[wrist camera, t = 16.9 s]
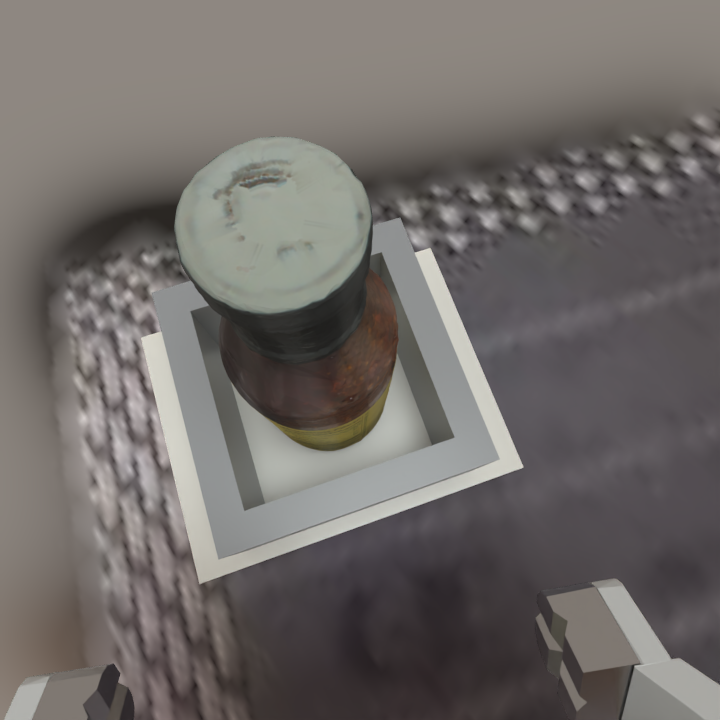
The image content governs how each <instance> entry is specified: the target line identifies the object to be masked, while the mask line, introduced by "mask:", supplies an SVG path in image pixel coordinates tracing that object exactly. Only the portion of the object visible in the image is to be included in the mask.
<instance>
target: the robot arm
mask: <svg viewBox="0 0 720 720" xmlns="http://www.w3.org/2000/svg"><path fill="white" fill-rule="evenodd" d="M537 605H538V607H539V609H540V612H541V613H540V614H539V615H538V616H537V617H536V618H535V632H536V638H537V644H538V647H539V650H540V653H541V656H542V659H543V661H544V664H545V666H546V668H547V670H548V671H549V672H551V673H552V674H553V675H554V676H556V677H557V678H558V679H559V683H558V692H557V694H558V697H559V699H560V701H561V703H562V706H563V708H564V710H565V713H566V715H567V717H568V720H720V685H719V684H717V683H716V682H715V681H713V680H712V679H710V678H709V677H707V676H706V675H704V674H703V673H701V672H700V671H698V670H697V669H695V668H694V667H692V666H691V665H689V664H688V663H686V662H685V661H683V660H682V659H680V658H675V659H671V657H670V656H669V654H668V653H667V651H666V650H665V648H664V647H663V645H662V643H661V642H660V640H659V639H658V637H657V636H656V634H655V633H654V631H653V630H652V628H651V627H650V625H649V624H648V622H647V621H646V619H645V618H644V616H643V614H642V613H641V611H640V610H639V608H638V607H637V605H636V604H635V602H634V601H633V599H632V598H631V596H630V595H629V593H628V592H627V590H626V589H625V587H624V585H623V584H622V583H621V582H620V581H619V580H617V579H613V578H612V579H606V580H601V581H596V582H591V583H588V582H586V583H580V584H575V585H570V586H564V587H559V588H554V589H548V590H543V591H540V592H539V593H538V595H537ZM119 677H120V672H119V671H118V669H117V668H116V666H115V665H114V664H108V665H102V666H96V667H89V668H83V669H77V670H70V671H64V672H55V673H49V674H44V675H38V676H32V677H27V678H26V679H25V681H24V682H23V683H22V684H21V686H19V688H18V690H17V692H16V694H15V696H14V698H13V701H12V703H11V705H10V707H9V709H8V711H7V714H6V716H5V718H4V720H134V702H133V697H132V694H131V692H130V690H129V689H128V687H126V686H124V685H121V684H119V683H118V680H119Z"/></svg>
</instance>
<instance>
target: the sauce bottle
mask: <svg viewBox="0 0 720 720" xmlns="http://www.w3.org/2000/svg"><path fill="white" fill-rule="evenodd" d="M174 230H175V237H176V246H177V250H178V253H179V258H180V262H181V265H182V267H183V269H184V271H185V272H186V274H187V275H188V277H189V278H190V280H191V281H192V283H193V284H194V286H195V288H196V289H197V291H198V292H199V293H200V294H201V295H202V297H203V298H204V300H205V301H206V302H207V303H208V305H209V306H210V307H211V308H212V309H213V310H214V311H215V312H217V313H218V314H220V315H221V316H222V317H221V321H220V326H219V349H220V355H221V359H222V363H223V366H224V368H225V371H226V373H227V375H228V377H229V379H230V381H231V382H232V384H233V386H234V387H235V388H236V390H237V391H238V393H239V394H240V395H241V397H242V398H243V399H244V400H245V401H246V402H247V403H248V404H249V405H250V406H251V407H253V408H254V409H255V410H256V411H258V412H259V413H260V414H261V415H263V416H264V417H265V418H267V419H268V420H269V421H270V422H271V423H273V424H274V425H275V426H276V427H277V428H279V429H280V430H281V431H282V432H283V433H284V434H285V435H287V436H288V437H289V438H290V439H292V440H293V441H295V442H296V443H298V444H300V445H302V446H305V447H307V448H310V449H314V450H319V451H336V450H340V449H343V448H346V447H349V446H351V445H353V444H355V443H357V442H359V441H361V440H362V439H363V438H364V437H365V436H366V435H368V434H369V433H370V431H371V430H372V429H373V428H374V427H375V425H376V424H377V422H378V421H379V419H380V417H381V415H382V413H383V410H384V406H385V402H386V399H387V395H388V392H389V387H390V384H391V380H392V376H393V371H394V367H395V363H396V358H397V345H398V341H399V338H398V323H397V314H396V309H395V305H394V302H393V300H392V298H391V295H390V293H389V291H388V289H387V287H386V285H385V284H384V282H383V281H382V279H381V278H380V277H379V275H378V274H377V273H375V272H373V270H371V269H370V268H369V267H370V256H371V252H372V238H373V220H372V209H371V205H370V202H369V199H368V196H367V192H366V190H365V189H364V187H363V185H362V183H361V182H360V180H359V179H358V178H357V177H356V175H355V174H354V172H353V171H352V169H350V168H349V167H348V166H347V165H346V164H345V163H344V162H343V161H342V160H341V159H340V158H339V157H338V156H337V155H336V154H335V153H333V152H331V151H329V150H327V149H325V148H324V147H322V146H319V145H317V144H313V143H310V142H307V141H304V140H301V139H298V138H292V137H291V138H290V137H268V138H257V139H254V140H251V141H248V142H245V143H243V144H240V145H238V146H235V147H232V148H231V149H229V150H227V151H226V152H224V153H222V154H220V155H219V156H217V157H216V158H214V159H213V160H212V161H211V162H209V163H208V164H207V165H206V166H205V167H203V168H202V169H201V170H200V171H198V172H197V173H196V174H195V176H194V177H193V179H192V181H191V182H190V184H189V185H188V186H187V187H186V188H185V189H184V191H183V193H182V196H181V199H180V201H179V204H178V206H177V210H176V218H175V227H174Z"/></svg>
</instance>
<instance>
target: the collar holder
mask: <svg viewBox="0 0 720 720" xmlns="http://www.w3.org/2000/svg"><path fill="white" fill-rule="evenodd" d="M369 268H370V269H371V270H373V272H375V273H377V274H378V275H379V277H380V278H381V279H382V281H383V282H384V284H385V285H386V287H387V289H388V291H389V293H390V295H391V298H392V300H393V302H394V305H395V309H396V314H397V323H398V338H399V341H398V345H397V358H396V363H395V367H394V371H393V376H392V380H391V384H390V387H389V392H388V395H387V399H386V402H385V406H384V410H383V413H382V415H381V417H380V419H379V421H378V422H377V424H376V425H375V427H374V428H373V429H372V430H371V431H370V433H369V434H368V435H366V436H365V437H364V438H363V439H362V440H361V441H359V442H357V443H355V444H353V445H351V446H349V447H346V448H343V449H340V450H336V451H319V450H314V449H310V448H307V447H305V446H302V445H300V444H298V443H296V442H295V441H293V440H292V439H290V438H289V437H288V436H287V435H285V434H284V433H283V432H282V431H281V430H280V429H279V428H277V427H276V426H275V425H274V424H273V423H271V422H270V421H269V420H268V419H267V418H265V417H264V416H263V415H261V414H260V413H259V412H258V411H256V410H255V409H254V408H253V407H251V406H250V405H249V404H248V403H247V402H246V401H245V400H244V399H243V398H242V397H241V395H240V394H239V393H238V391H237V390H236V388H235V387H234V386H233V384H232V382H231V381H230V379H229V377H228V375H227V373H226V371H225V368H224V366H223V363H222V359H221V355H220V349H219V326H220V321H221V317H222V316H221V315H220V314H218V313H217V312H215V311H214V310H213V309H212V308H211V307H210V306H209V305H208V303H207V302H206V301H205V300H204V298H203V297H202V295H201V294H200V293H199V292H198V291H197V289H196V288H195V286H194V284H193V283H192V281H189V282H186V283H182V284H179V285H176V286H172V287H169V288H166V289H162V290H159V291H156V292H153V293H152V296H153V300H154V304H155V308H156V312H157V316H158V320H159V324H160V328H161V332H158V333H155V334H151V335H148V336H145V337H142V338H141V340H142V344H143V348H144V352H145V357H146V361H147V365H148V369H149V374H150V378H151V382H152V386H153V390H154V395H155V399H156V403H157V407H158V411H159V416H160V420H161V424H162V428H163V432H164V437H165V441H166V445H167V449H168V454H169V458H170V462H171V466H172V470H173V475H174V479H175V483H176V487H177V491H178V496H179V500H180V504H181V508H182V512H183V517H184V521H185V525H186V529H187V534H188V538H189V542H190V546H191V550H192V555H193V559H194V563H195V567H196V571H197V576H198V580H199V584H201V583H204V582H207V581H210V580H212V579H215V578H218V577H221V576H223V575H226V574H229V573H232V572H235V571H237V570H240V569H243V568H246V567H248V566H251V565H254V564H257V563H260V562H262V561H265V560H268V559H271V558H274V557H276V556H279V555H282V554H285V553H287V552H290V551H293V550H296V549H299V548H301V547H304V546H307V545H310V544H312V543H315V542H318V541H321V540H324V539H326V538H329V537H332V536H335V535H337V534H340V533H343V532H346V531H349V530H351V529H354V528H357V527H360V526H363V525H365V524H368V523H371V522H374V521H376V520H379V519H382V518H385V517H388V516H390V515H393V514H396V513H399V512H401V511H404V510H407V509H410V508H413V507H415V506H418V505H421V504H424V503H426V502H429V501H432V500H435V499H438V498H440V497H443V496H446V495H449V494H452V493H454V492H457V491H460V490H463V489H465V488H468V487H471V486H474V485H477V484H479V483H482V482H485V481H488V480H490V479H493V478H496V477H499V476H502V475H504V474H507V473H510V472H513V471H515V470H518V469H521V468H524V467H523V465H522V463H521V460H520V458H519V456H518V453H517V451H516V448H515V446H514V444H513V441H512V439H511V437H510V434H509V432H508V430H507V427H506V425H505V423H504V420H503V418H502V415H501V413H500V411H499V408H498V406H497V404H496V401H495V399H494V397H493V394H492V392H491V390H490V387H489V385H488V382H487V380H486V378H485V375H484V373H483V371H482V368H481V366H480V364H479V361H478V359H477V357H476V354H475V352H474V349H473V347H472V345H471V342H470V340H469V338H468V335H467V333H466V331H465V328H464V326H463V324H462V321H461V319H460V316H459V314H458V312H457V309H456V307H455V305H454V302H453V300H452V298H451V295H450V293H449V290H448V288H447V286H446V283H445V281H444V279H443V276H442V274H441V272H440V269H439V267H438V265H437V262H436V260H435V257H434V255H433V253H432V250H431V248H429V249H425V250H422V251H419V252H416V253H414V250H413V248H412V245H411V243H410V241H409V238H408V236H407V233H406V231H405V228H404V226H403V224H402V221H401V219H400V218H397V219H394V220H390V221H387V222H384V223H381V224H377V225H374V226H373V238H372V252H371V256H370V267H369Z"/></svg>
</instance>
